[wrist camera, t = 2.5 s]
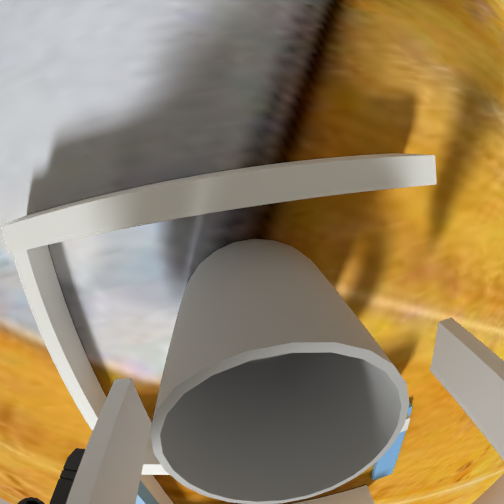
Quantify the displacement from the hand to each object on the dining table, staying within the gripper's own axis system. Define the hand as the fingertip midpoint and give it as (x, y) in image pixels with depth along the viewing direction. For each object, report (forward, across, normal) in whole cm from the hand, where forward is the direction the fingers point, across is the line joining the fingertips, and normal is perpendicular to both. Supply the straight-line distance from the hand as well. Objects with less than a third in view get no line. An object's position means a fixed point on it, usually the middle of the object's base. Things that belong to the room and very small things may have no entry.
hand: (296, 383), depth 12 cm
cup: (+5, 0, 0) cm, 5 cm away
